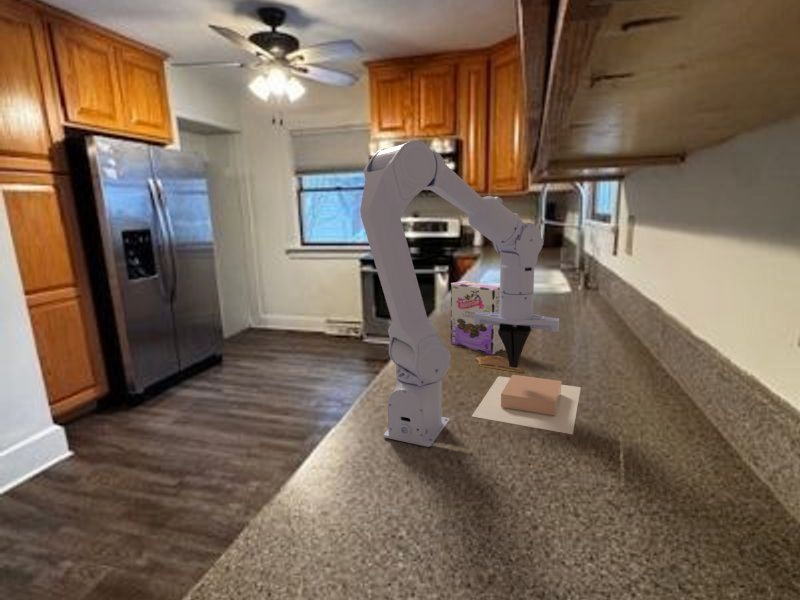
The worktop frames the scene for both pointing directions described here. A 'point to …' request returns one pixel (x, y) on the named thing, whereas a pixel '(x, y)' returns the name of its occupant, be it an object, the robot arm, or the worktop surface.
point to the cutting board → (558, 423)
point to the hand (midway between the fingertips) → (514, 365)
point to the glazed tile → (531, 394)
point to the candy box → (464, 306)
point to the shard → (497, 363)
